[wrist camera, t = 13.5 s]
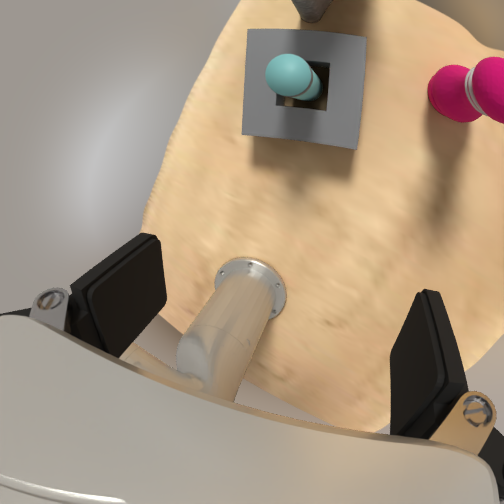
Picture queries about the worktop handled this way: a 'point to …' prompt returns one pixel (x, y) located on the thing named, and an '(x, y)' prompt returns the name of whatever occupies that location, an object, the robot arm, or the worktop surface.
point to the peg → (293, 78)
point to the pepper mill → (469, 91)
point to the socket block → (302, 119)
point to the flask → (311, 9)
